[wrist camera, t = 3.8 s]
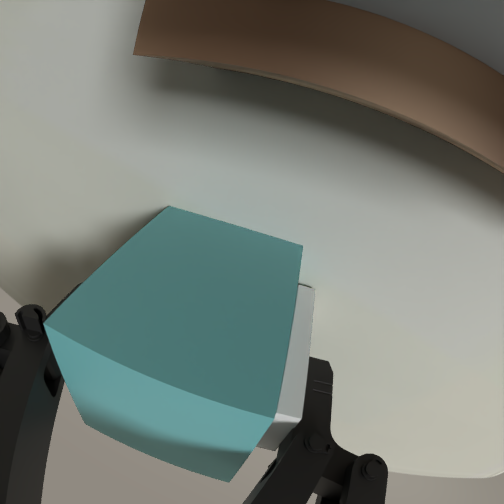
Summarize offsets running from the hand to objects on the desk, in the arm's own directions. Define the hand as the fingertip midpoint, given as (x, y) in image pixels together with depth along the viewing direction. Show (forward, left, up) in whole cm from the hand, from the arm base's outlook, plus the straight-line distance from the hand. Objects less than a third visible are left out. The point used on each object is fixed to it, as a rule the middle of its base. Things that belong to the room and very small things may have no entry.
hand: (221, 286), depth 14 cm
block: (0, 0, 0) cm, 0 cm away
